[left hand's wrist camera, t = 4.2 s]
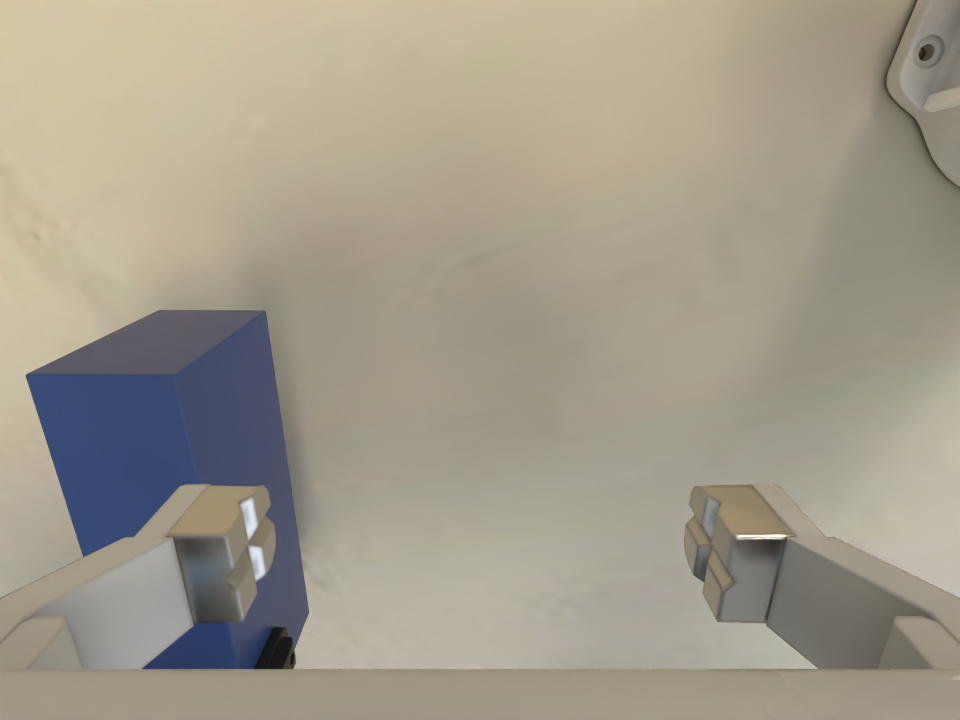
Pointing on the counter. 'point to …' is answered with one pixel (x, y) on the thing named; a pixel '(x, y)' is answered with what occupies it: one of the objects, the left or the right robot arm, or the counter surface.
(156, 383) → the box
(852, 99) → the counter surface
